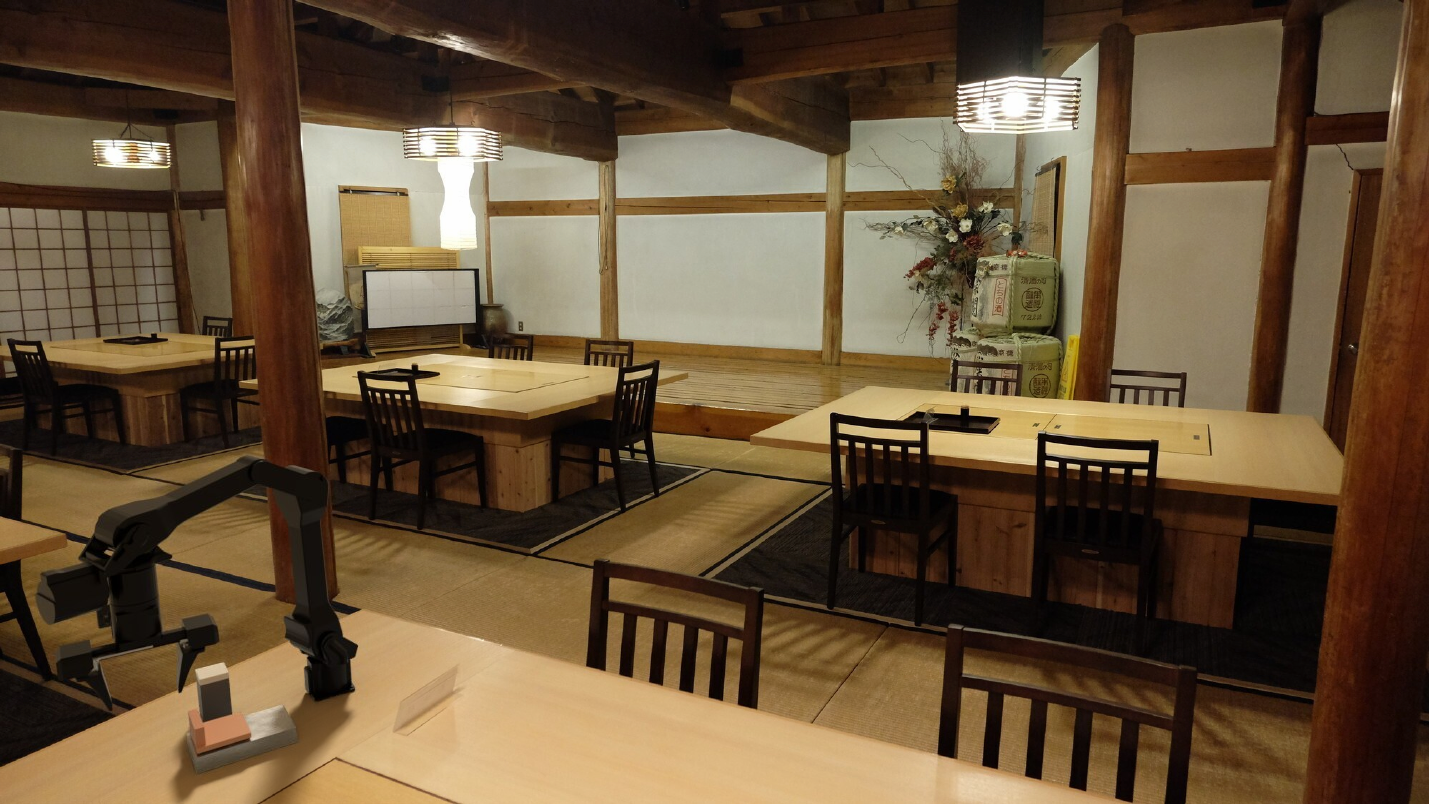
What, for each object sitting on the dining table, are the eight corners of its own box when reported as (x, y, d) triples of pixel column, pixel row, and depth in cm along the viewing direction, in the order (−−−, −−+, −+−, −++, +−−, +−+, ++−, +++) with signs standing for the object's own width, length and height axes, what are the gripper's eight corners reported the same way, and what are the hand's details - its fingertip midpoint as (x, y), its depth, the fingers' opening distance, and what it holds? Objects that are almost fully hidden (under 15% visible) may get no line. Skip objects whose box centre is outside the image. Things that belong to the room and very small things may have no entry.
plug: (227, 707, 141) (223, 662, 140) (232, 718, 138) (228, 672, 136) (199, 715, 139) (195, 669, 137) (204, 726, 136) (199, 679, 134)
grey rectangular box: (284, 718, 138) (283, 704, 138) (297, 742, 132) (296, 727, 132) (187, 747, 130) (186, 732, 129) (196, 774, 124) (195, 758, 123)
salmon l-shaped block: (241, 716, 134) (240, 695, 133) (251, 737, 128) (249, 715, 128) (189, 731, 129) (187, 709, 129) (197, 753, 124) (195, 731, 123)
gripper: (202, 564, 131) (211, 659, 134) (47, 594, 120) (61, 696, 123) (215, 589, 123) (224, 689, 126) (50, 623, 111) (65, 733, 114)
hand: (146, 700), depth 122 cm, fingers open, 8 cm apart
